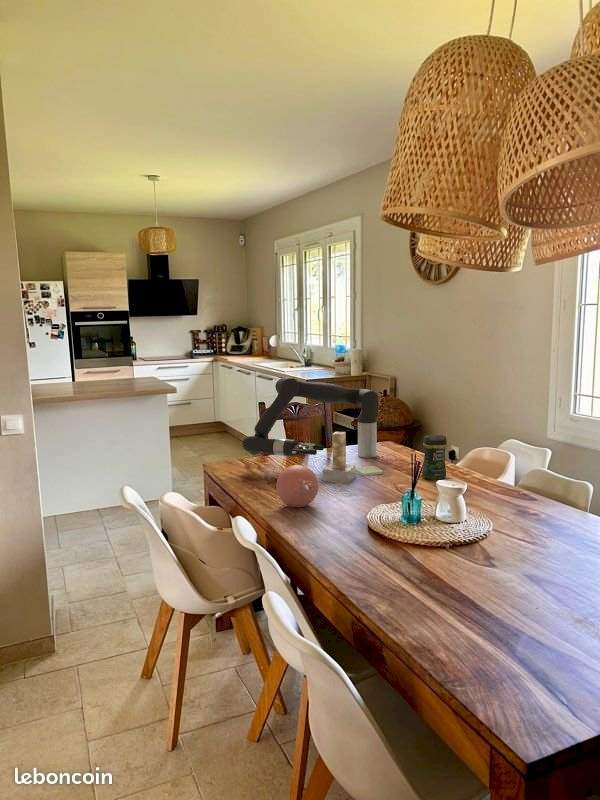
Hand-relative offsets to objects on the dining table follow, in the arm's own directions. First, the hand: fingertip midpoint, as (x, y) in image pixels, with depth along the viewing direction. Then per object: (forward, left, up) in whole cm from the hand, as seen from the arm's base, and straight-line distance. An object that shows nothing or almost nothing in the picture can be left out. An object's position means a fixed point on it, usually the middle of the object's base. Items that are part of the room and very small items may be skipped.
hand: (319, 450), depth 245 cm
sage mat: (+1, +23, -12) cm, 26 cm away
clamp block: (+6, +7, -12) cm, 15 cm away
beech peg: (+6, +7, -12) cm, 15 cm away
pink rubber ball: (+36, -21, -12) cm, 43 cm away
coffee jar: (+20, +45, -12) cm, 50 cm away
